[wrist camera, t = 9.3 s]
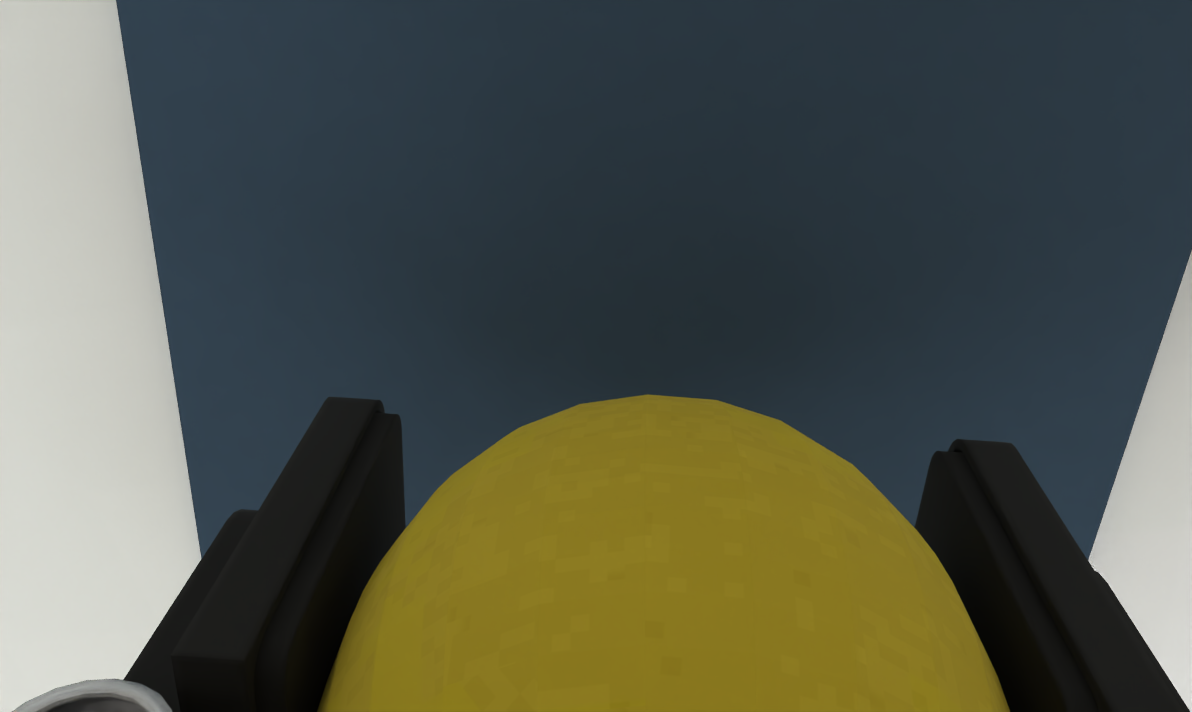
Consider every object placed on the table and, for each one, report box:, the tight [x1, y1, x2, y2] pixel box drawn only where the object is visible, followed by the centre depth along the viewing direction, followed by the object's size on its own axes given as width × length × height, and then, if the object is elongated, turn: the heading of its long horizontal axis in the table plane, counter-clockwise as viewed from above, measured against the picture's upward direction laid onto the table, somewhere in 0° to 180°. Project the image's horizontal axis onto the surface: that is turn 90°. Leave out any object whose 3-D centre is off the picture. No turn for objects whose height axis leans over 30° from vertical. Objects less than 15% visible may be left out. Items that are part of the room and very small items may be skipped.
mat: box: [116, 0, 1192, 560], centre depth 16 cm, size 20×16×1 cm
